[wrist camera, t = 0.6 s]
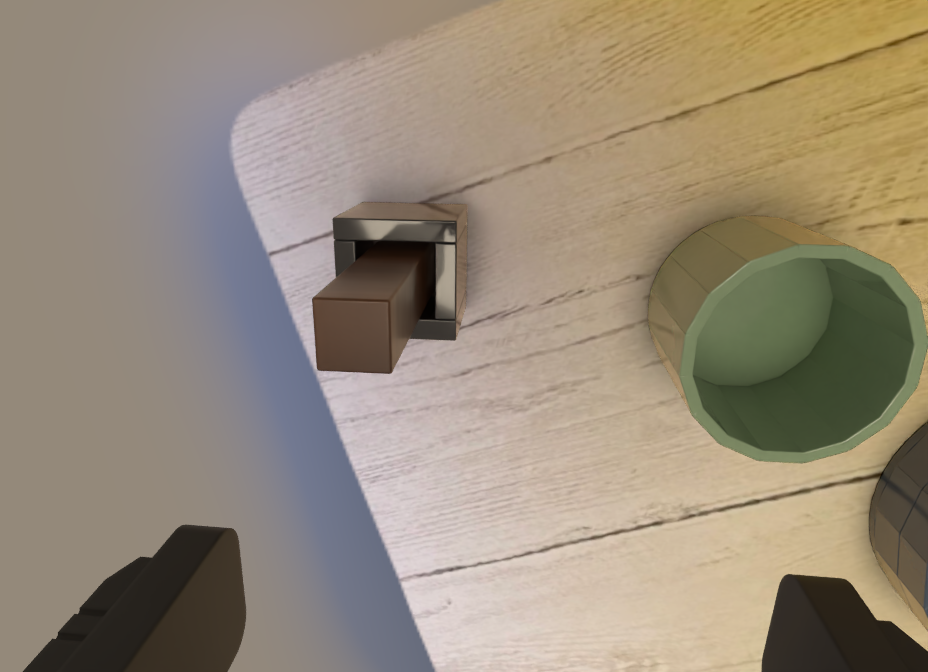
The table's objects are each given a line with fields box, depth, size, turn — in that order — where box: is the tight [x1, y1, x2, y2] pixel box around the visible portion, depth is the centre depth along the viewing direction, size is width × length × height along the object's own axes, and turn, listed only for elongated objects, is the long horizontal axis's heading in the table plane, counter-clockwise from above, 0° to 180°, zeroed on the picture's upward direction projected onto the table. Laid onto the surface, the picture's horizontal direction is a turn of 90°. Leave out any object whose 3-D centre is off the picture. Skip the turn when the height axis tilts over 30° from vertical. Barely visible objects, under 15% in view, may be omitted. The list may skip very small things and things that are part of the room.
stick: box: [312, 241, 435, 374], centre depth 25 cm, size 2×2×12 cm
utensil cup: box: [648, 215, 928, 463], centre depth 27 cm, size 9×9×7 cm
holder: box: [333, 202, 467, 341], centre depth 28 cm, size 5×5×5 cm
